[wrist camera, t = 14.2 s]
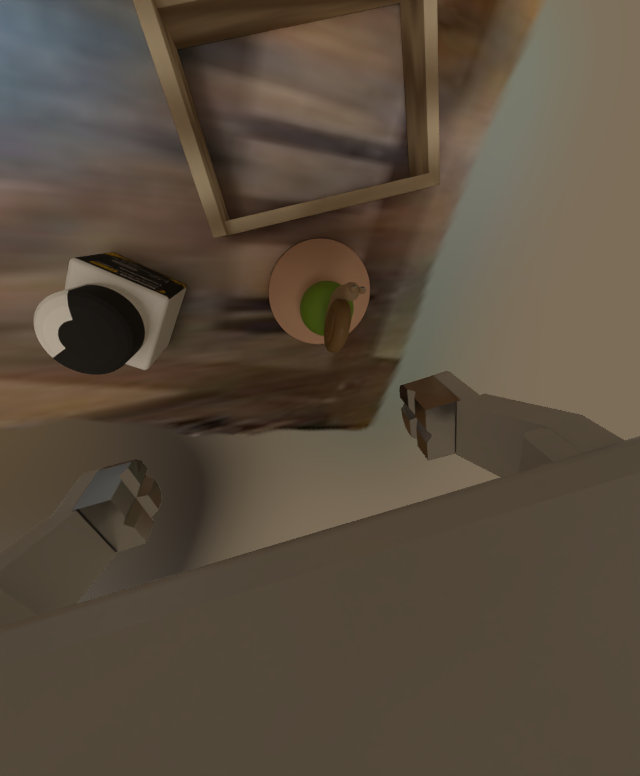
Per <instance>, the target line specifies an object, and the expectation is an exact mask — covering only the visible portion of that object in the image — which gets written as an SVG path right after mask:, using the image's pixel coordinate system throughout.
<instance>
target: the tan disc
mask: <svg viewBox="0 0 640 776" xmlns="http://www.w3.org/2000/svg"><path fill="white" fill-rule="evenodd" d="M320 281H334V282H337V283H339V284H341V285H344V284H347V283H349V282H355V283H356V284H357V285H358V286H359V287H361V286H363V287H365V288H366V292H365V293H364V294H360V293H359V296H358V297H357V299H356V300H354V301H353V306H354V311H353V316H352V319H351V324H350V330H349V333H350V332H351V331H352V330H353V329H354V328H355V327H356V326H357V325H358V323H359V322H360V321H361V319H362V317H363V316H364V314H365V311H366V309H367V306H368V302H369V297H370V283H369V278H368V274H367V271H366V269H365V266H364V264H363V263H362V261H361V260H360V258H359V257H358V256H357V255H356V253H355V252H354V251H352V250H351V249H350V248H349V247H347V246H346V245H344V244H342V243H340V242H338V241H334V240H331V239H323V238H315V239H309V240H305V241H302V242H300V243H298V244H296V245H294V246H293V247H291V248H290V249H289V250H287V251H286V252H285V253H284V254H283V255H282V256H281V258H280V259H279V260H278V262H277V263H276V265H275V267H274V269H273V271H272V274H271V278H270V283H269V302H270V306H271V310H272V312H273V315H274V317H275V319H276V321H277V322H278V323H279V325H280V326H281V327H282V328H283V330H284V331H286V332H287V333H288V334H289V335H291V336H292V337H294V338H296V339H298V340H300V341H303V342H306V343H311V344H325V343H324V336H321V335H317V334H315V333H313V332H312V331H310V330H309V329H308V328H307V327H306V326H305V324H304V323H303V321H302V318H301V315H300V302H301V299H302V296H303V294H304V293H305V291H306V290H307V289H308V288H309V287H310V286H312V285H313V284H315V283H317V282H320Z"/></svg>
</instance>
